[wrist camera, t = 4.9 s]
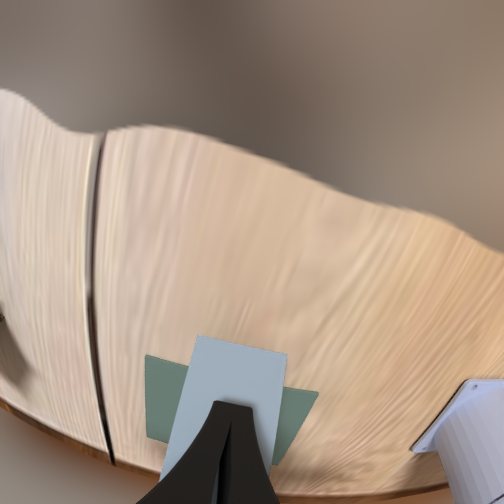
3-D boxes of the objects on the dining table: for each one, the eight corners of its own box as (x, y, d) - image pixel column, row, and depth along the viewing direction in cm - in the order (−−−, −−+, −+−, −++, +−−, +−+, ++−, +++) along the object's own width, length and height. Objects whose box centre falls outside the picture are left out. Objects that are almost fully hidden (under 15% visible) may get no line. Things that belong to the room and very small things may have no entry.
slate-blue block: (287, 354, 13) (258, 531, 8) (268, 380, 16) (244, 517, 11) (197, 334, 13) (152, 510, 8) (197, 364, 16) (163, 500, 11)
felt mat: (318, 392, 16) (318, 394, 16) (277, 463, 19) (277, 465, 19) (146, 354, 16) (144, 356, 16) (147, 434, 19) (146, 436, 19)
